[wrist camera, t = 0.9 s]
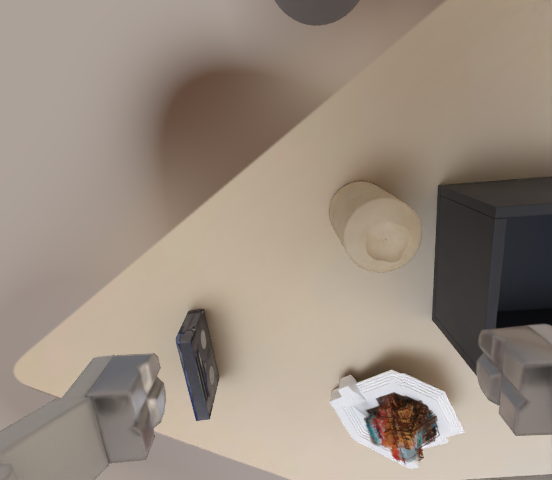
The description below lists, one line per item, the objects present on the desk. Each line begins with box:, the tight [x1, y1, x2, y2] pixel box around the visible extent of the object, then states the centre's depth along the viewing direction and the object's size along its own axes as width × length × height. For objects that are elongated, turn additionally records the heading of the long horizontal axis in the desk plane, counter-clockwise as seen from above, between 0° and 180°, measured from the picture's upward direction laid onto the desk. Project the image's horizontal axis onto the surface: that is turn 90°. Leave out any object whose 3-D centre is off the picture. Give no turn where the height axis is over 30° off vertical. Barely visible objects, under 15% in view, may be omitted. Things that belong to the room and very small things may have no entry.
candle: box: [329, 181, 422, 272], centre depth 30 cm, size 6×6×10 cm
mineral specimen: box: [330, 369, 465, 469], centre depth 38 cm, size 12×12×7 cm
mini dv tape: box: [176, 309, 219, 421], centre depth 36 cm, size 8×2×6 cm, turn 8°
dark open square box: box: [432, 177, 552, 376], centre depth 32 cm, size 14×14×10 cm
